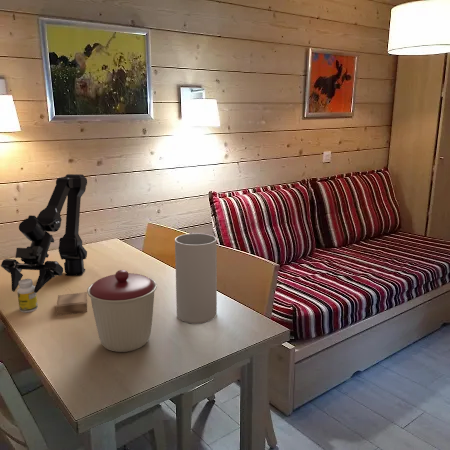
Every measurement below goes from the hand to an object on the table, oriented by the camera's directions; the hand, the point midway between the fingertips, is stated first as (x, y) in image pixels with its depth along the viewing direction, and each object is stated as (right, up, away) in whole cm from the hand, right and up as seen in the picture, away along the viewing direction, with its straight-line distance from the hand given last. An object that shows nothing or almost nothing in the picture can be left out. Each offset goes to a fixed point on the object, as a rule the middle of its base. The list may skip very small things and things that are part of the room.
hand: (24, 291), depth 135 cm
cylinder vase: (+55, -7, 0) cm, 55 cm away
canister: (+36, -12, -17) cm, 41 cm away
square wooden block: (+14, -6, +4) cm, 16 cm away
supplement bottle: (0, -6, +3) cm, 7 cm away
